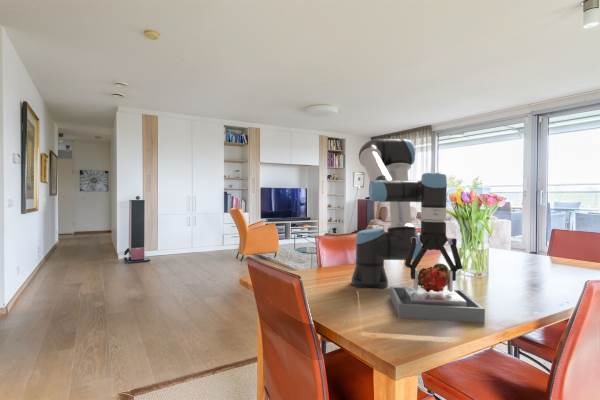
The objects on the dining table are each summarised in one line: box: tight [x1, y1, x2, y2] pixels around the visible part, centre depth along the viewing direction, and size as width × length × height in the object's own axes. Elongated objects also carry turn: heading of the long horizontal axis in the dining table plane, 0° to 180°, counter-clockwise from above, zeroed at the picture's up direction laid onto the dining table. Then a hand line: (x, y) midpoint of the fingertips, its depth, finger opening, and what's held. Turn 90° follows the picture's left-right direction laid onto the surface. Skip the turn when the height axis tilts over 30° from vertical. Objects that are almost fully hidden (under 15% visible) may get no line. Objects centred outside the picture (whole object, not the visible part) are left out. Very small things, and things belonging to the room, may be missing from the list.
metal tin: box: [403, 286, 466, 307], centre depth 109 cm, size 16×14×5 cm
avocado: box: [432, 263, 450, 281], centre depth 151 cm, size 8×13×8 cm, turn 128°
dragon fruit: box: [418, 266, 449, 292], centre depth 109 cm, size 8×8×12 cm
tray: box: [389, 286, 486, 324], centre depth 109 cm, size 24×20×5 cm
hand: (432, 289), depth 109 cm, fingers closed on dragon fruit, 10 cm apart
